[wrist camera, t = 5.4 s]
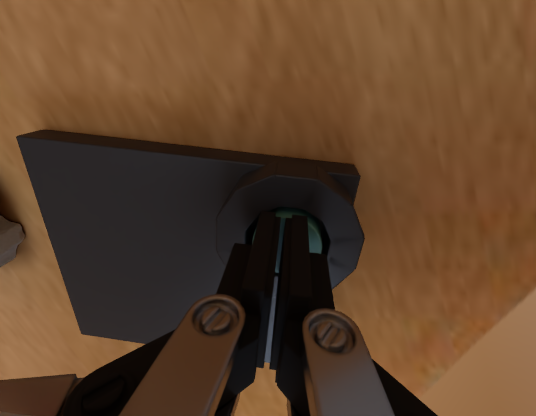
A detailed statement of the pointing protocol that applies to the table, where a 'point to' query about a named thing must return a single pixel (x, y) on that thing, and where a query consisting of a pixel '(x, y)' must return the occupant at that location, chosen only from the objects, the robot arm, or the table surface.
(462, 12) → the table surface
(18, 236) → the egg carton
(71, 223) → the scale
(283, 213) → the button
